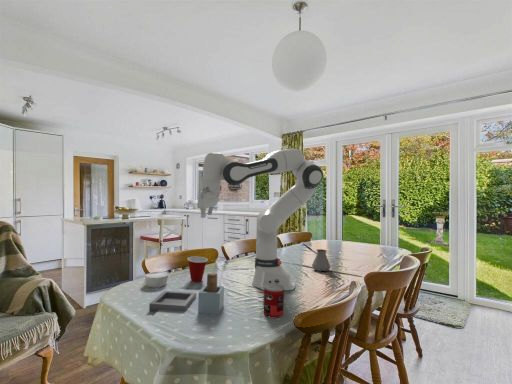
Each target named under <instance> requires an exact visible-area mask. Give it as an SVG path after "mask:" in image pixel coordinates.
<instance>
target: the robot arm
mask: <svg viewBox="0 0 512 384" xmlns="http://www.w3.org/2000/svg"><path fill="white" fill-rule="evenodd" d="M287 172H290V173H291V175H292V176H293V177H295V178H296V179H297V181H296V182H295V184H294V185H293V186H292V187H290V188H289V189H288V190H287V191H286V192H284V193H283V194H282V195H280V197H278V198H277V199H276V200H275V201H274V202H273V203H272V204H271V205H270V206H269V207H267V208H266V209H263V210H262V211H260V212H259V213H258V214H257V217H256V237H255V238H256V239H255V240H256V241H255V243H256V244H255V257H254V275H253V278H252V282H251V285H252V286H253V287H255V288H258V289H260V290H262V291H264V286H265V285H267V284H279V285H282V286H284V291H293V290H294V289H295V288H296V283H295V282H294V281H293V280H292V279H291V275H290V272H289V271H288V270H286V269H285V268H284V267H283V266H282V260H281V259H280V258H278V256H277V255H278V229H279V228H280V226H282V225H283V224H284V223H285V222H286V221H287V220H288V219H289V218H290V217H291V216H292V215H293V214H294V213H296V211H298V210H299V209H300V208H301V207H303V206H304V205H306V203H307V202H309V200H310V199H311V198H312V197H313V195H314V194H315V192H316V191H315V188H317V187H318V185H320V183H322V180H323V178H324V171H323V170H322V168H321V167H320V166H319V165H317V164H315V163H314V162H312V161H310V160H307V159H305V157H304V154H303V152H302V150H300V149H299V148H286V149H280V150H275V151H273V152H270V153H268V154H266V155H265V157H264V158H263V159H260V160H256V161H252V162H248V163H242V162H238V161H232V160H230V159H229V158H228V157H226V156H225V155H224V154H223V153H222V152H210V153H208V154H206V155H205V157H204V160H203V166H202V177H201V181H200V188H199V189H200V190H201V191H200V192H199V194H198V198H197V202H196V203H197V204H196V207H197V209H200V218H202V219H205V218H206V216H207V215H208V216H211V215H212V214H213V211H214V207H215V206H216V205H218V203H219V198H220V194H221V193H220V192H221V191H222V186H221V182H222V181H225V182H226V183H227V184H229V185H231V186H238V185H240V184H242V183H243V182H245V181H246V180H248V179H249V178H252V177H253V178H254V177H256V176H259V175H260V176H261V175H263V174H264V175H265V174H272V175H273V174H275V175H276V174H283V173H287ZM207 209H208V210H207ZM206 211H207V213H206Z"/></svg>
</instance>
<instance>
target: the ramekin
mask: <svg viewBox="0 0 512 384" xmlns="http://www.w3.org/2000/svg"><path fill="white" fill-rule="evenodd" d="M168 277H169V273H168V272H166V271H152V272H149V273H146V274H145V276H144V278H145V282H146V283H145V284H146V286H147V287H149V288H162V287H164V286H166V285H167V283H168Z"/></svg>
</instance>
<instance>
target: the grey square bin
mask: <svg viewBox="0 0 512 384" xmlns="http://www.w3.org/2000/svg"><path fill="white" fill-rule="evenodd" d="M224 299H225V286H222V285H217V292H207V284H205V285H203V286H202V287H201V288H200V290H199V291H198V299H197V300H198V302H197V306H198V307H197V313H198V314H206V315H220V314H221V312H222V310H223V308H224V306H225V305H224V302H225V300H224Z"/></svg>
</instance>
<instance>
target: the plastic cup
mask: <svg viewBox="0 0 512 384" xmlns="http://www.w3.org/2000/svg"><path fill="white" fill-rule="evenodd" d="M208 260H209V259H208V258H206V257H203V256H198V255H197V256H196V255H195V256H190V257H187V261H188V268H189V275H190V281H191V282H193V283H199V282H200V283H201V282H202V281H203V279H204V274H205V269H206V264H207V262H208Z"/></svg>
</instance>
